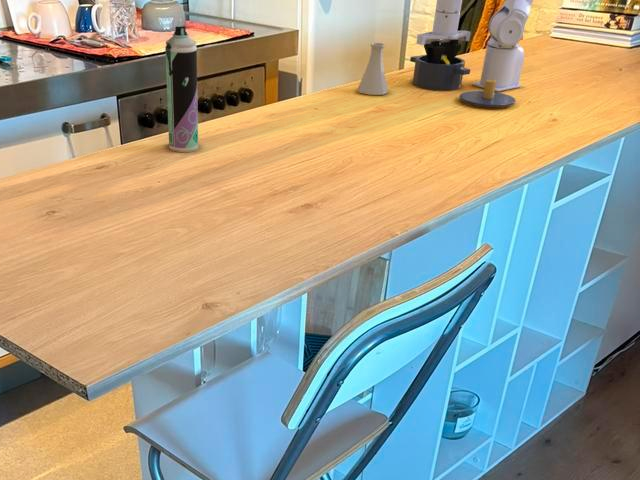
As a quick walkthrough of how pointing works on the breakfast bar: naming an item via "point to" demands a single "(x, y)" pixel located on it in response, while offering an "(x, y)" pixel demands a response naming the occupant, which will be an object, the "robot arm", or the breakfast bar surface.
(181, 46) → the spray can
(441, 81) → the dark grey pot
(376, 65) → the flask
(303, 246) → the breakfast bar surface
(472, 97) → the lid
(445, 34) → the robot arm
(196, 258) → the breakfast bar surface
